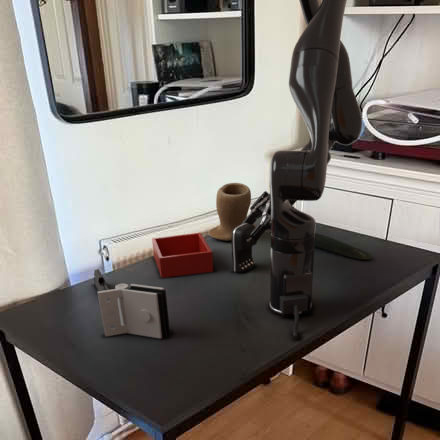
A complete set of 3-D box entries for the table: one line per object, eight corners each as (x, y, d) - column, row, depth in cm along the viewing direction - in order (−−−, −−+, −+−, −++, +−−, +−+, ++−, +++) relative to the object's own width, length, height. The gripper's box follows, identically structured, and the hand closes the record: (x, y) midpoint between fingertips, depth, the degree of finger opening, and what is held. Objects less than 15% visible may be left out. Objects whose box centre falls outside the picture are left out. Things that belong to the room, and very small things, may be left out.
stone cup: (232, 247, 161) (231, 193, 152) (203, 238, 168) (200, 186, 159) (266, 233, 169) (267, 181, 161) (237, 225, 176) (236, 175, 168)
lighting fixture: (122, 313, 129) (119, 296, 126) (110, 316, 128) (108, 299, 125) (105, 283, 143) (102, 267, 141) (94, 285, 142) (92, 269, 140)
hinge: (103, 336, 119) (96, 292, 114) (111, 325, 124) (104, 282, 118) (167, 339, 117) (162, 294, 112) (173, 327, 122) (168, 283, 116)
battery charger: (243, 275, 144) (242, 231, 137) (231, 272, 146) (230, 228, 139) (258, 266, 148) (258, 223, 142) (247, 263, 150) (246, 220, 144)
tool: (275, 244, 161) (275, 221, 158) (289, 237, 165) (289, 215, 161) (359, 266, 145) (361, 241, 142) (372, 259, 149) (375, 234, 145)
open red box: (213, 271, 146) (212, 251, 144) (161, 277, 144) (159, 258, 141) (201, 251, 159) (200, 232, 156) (153, 256, 157) (151, 238, 154)
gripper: (273, 165, 141) (230, 215, 145) (292, 178, 129) (245, 232, 134) (293, 184, 145) (250, 233, 149) (313, 199, 133) (266, 251, 138)
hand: (248, 233), depth 142 cm, fingers open, 8 cm apart
